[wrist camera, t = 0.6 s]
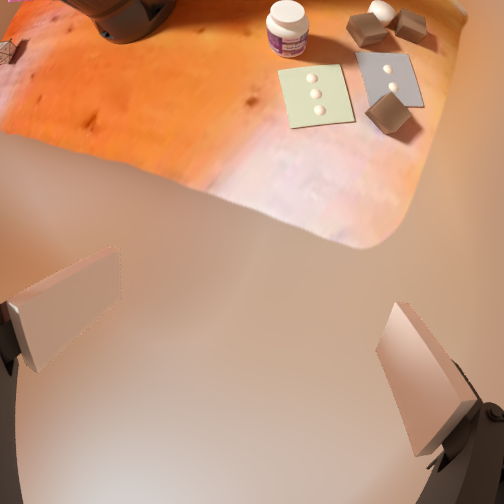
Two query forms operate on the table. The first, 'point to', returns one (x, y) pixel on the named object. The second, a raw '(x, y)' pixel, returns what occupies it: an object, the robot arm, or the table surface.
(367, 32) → the cube
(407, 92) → the pad two
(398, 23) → the cube
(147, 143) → the table surface
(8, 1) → the teapot
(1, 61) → the game die
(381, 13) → the white cap
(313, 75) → the pad three
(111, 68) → the table surface
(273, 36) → the pill bottle
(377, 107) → the cube
